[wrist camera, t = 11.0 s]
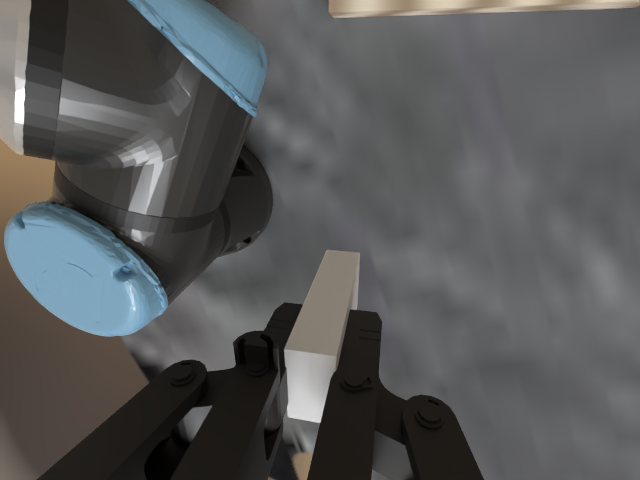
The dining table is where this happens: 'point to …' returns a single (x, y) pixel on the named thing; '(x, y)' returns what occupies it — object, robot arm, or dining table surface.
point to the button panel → (463, 6)
